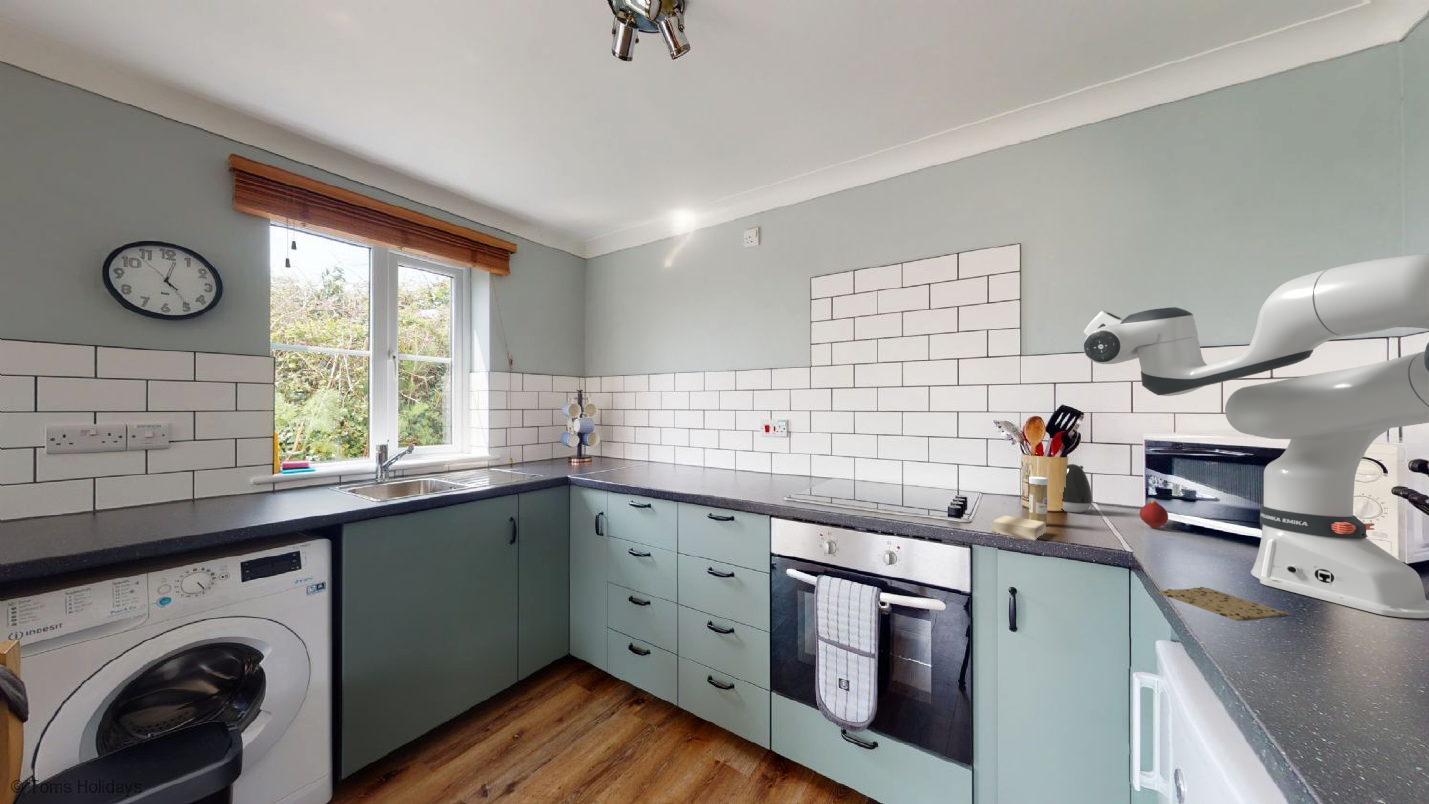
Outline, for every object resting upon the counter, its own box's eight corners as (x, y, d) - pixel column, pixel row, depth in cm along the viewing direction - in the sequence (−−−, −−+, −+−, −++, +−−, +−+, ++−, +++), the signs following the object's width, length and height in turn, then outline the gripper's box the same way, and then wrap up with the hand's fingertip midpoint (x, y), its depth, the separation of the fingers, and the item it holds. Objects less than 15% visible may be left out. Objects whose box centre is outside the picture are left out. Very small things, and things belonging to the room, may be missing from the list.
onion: (1156, 526, 138) (1156, 498, 138) (1173, 531, 133) (1174, 502, 133) (1134, 525, 139) (1134, 497, 139) (1150, 530, 133) (1150, 501, 133)
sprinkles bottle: (1045, 526, 136) (1045, 479, 136) (1026, 523, 140) (1026, 477, 140) (1049, 524, 140) (1049, 477, 140) (1031, 521, 143) (1031, 475, 143)
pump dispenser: (1099, 513, 155) (1100, 465, 155) (1080, 516, 150) (1081, 466, 150) (1064, 506, 164) (1065, 461, 164) (1046, 509, 159) (1046, 463, 159)
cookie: (1293, 617, 80) (1293, 611, 80) (1237, 623, 78) (1237, 617, 78) (1207, 590, 92) (1207, 584, 92) (1155, 594, 89) (1155, 589, 89)
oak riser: (1045, 533, 130) (1045, 522, 130) (1035, 540, 123) (1035, 528, 123) (1003, 526, 137) (1003, 515, 137) (991, 532, 130) (991, 521, 130)
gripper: (1184, 357, 106) (1201, 352, 114) (1095, 306, 118) (1116, 305, 126) (1160, 379, 110) (1178, 373, 118) (1076, 328, 122) (1097, 325, 130)
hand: (1145, 337), depth 122 cm, fingers open, 8 cm apart
